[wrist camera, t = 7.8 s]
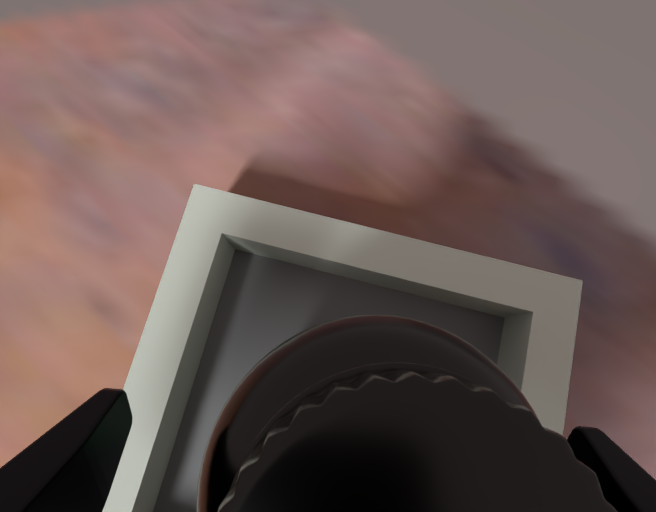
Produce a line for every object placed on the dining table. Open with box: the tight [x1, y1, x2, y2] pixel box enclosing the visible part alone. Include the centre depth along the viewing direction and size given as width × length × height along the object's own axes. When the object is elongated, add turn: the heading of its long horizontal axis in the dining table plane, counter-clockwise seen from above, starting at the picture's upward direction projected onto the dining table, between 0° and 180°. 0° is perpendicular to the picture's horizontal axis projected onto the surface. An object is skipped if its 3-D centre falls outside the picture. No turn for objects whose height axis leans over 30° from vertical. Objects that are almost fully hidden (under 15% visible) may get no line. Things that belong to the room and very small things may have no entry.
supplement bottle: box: [196, 314, 618, 512], centre depth 10 cm, size 7×7×12 cm
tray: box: [102, 184, 583, 512], centre depth 15 cm, size 14×14×3 cm
